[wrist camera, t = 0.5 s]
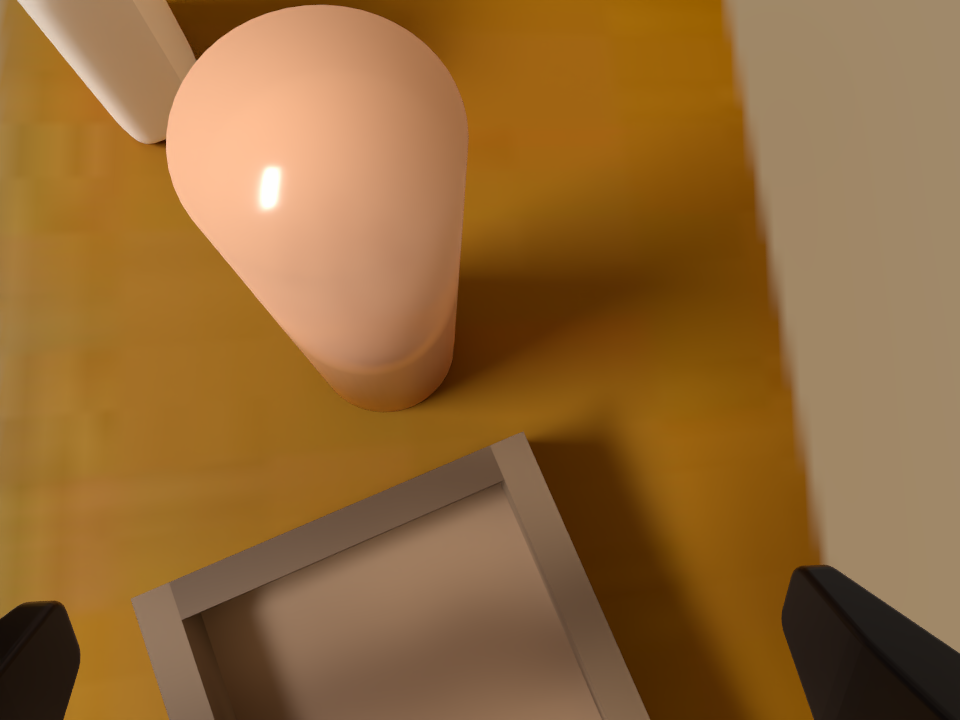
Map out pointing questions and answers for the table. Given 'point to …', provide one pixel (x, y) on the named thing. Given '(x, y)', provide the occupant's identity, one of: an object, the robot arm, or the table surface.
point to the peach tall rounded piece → (333, 190)
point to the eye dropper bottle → (121, 56)
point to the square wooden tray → (399, 612)
